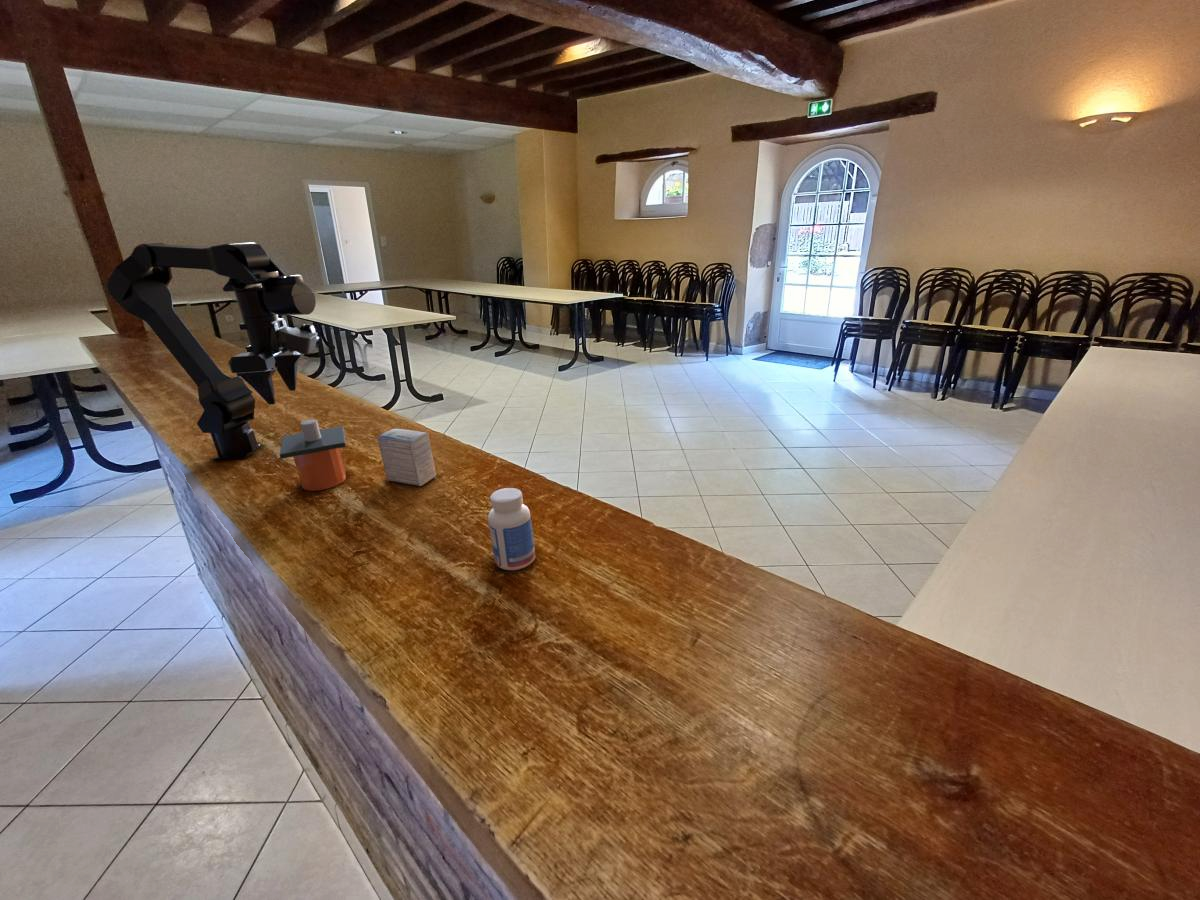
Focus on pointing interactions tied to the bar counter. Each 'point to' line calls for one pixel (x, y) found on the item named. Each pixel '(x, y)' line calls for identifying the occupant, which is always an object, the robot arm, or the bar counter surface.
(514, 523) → the pill bottle
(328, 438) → the grey lid with knob
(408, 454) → the stack of paper cards
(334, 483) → the cup
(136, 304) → the robot arm
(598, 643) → the bar counter surface
